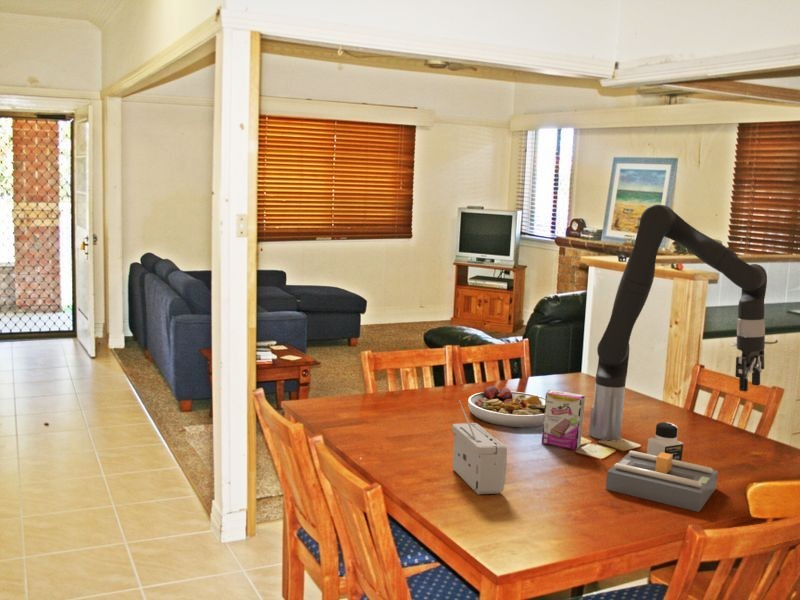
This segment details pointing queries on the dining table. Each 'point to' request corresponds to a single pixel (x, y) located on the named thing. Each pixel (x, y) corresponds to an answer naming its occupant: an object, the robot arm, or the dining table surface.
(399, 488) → the dining table surface
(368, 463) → the dining table surface
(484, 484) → the stereo radio cassette player
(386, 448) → the dining table surface
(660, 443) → the medicine bottle
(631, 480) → the grey rail box
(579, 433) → the candy bar box
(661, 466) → the orange block
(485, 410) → the bowl
